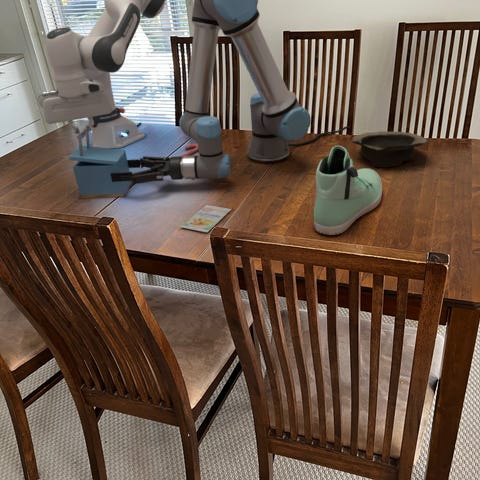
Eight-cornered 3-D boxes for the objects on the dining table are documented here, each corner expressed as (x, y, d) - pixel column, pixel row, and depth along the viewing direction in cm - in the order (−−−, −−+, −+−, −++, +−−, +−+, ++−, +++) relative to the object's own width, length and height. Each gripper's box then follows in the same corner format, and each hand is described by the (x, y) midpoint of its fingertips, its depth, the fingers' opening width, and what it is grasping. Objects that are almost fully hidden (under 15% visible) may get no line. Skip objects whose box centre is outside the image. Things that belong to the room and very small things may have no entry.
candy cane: (166, 159, 182) (166, 155, 181) (191, 146, 192) (191, 142, 191) (178, 161, 179) (177, 158, 178) (203, 148, 189) (203, 144, 188)
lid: (69, 160, 151) (66, 135, 147) (80, 148, 159) (77, 124, 155) (117, 165, 151) (116, 140, 147) (125, 153, 159) (124, 129, 155)
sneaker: (389, 187, 148) (396, 123, 138) (356, 242, 123) (361, 168, 112) (346, 181, 154) (350, 119, 144) (306, 232, 129) (307, 161, 118)
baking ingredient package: (180, 226, 135) (206, 203, 147) (180, 227, 136) (206, 205, 147) (207, 231, 132) (231, 208, 143) (207, 232, 132) (231, 209, 143)
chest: (80, 198, 158) (72, 167, 152) (90, 185, 166) (83, 155, 161) (124, 196, 157) (117, 165, 151) (132, 183, 165) (125, 153, 159)
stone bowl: (385, 177, 154) (386, 150, 149) (337, 159, 174) (336, 134, 170) (441, 159, 162) (444, 132, 158) (389, 143, 183) (390, 119, 178)
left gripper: (36, 95, 138) (49, 141, 146) (107, 84, 144) (116, 128, 152) (35, 91, 143) (48, 135, 151) (104, 80, 149) (113, 123, 157)
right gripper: (178, 193, 148) (108, 196, 150) (189, 165, 167) (127, 167, 169) (175, 171, 144) (103, 174, 146) (186, 144, 163) (123, 147, 165)
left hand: (83, 132), depth 151 cm, fingers closed on lid, 2 cm apart
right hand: (116, 170), depth 157 cm, fingers closed on chest, 10 cm apart
